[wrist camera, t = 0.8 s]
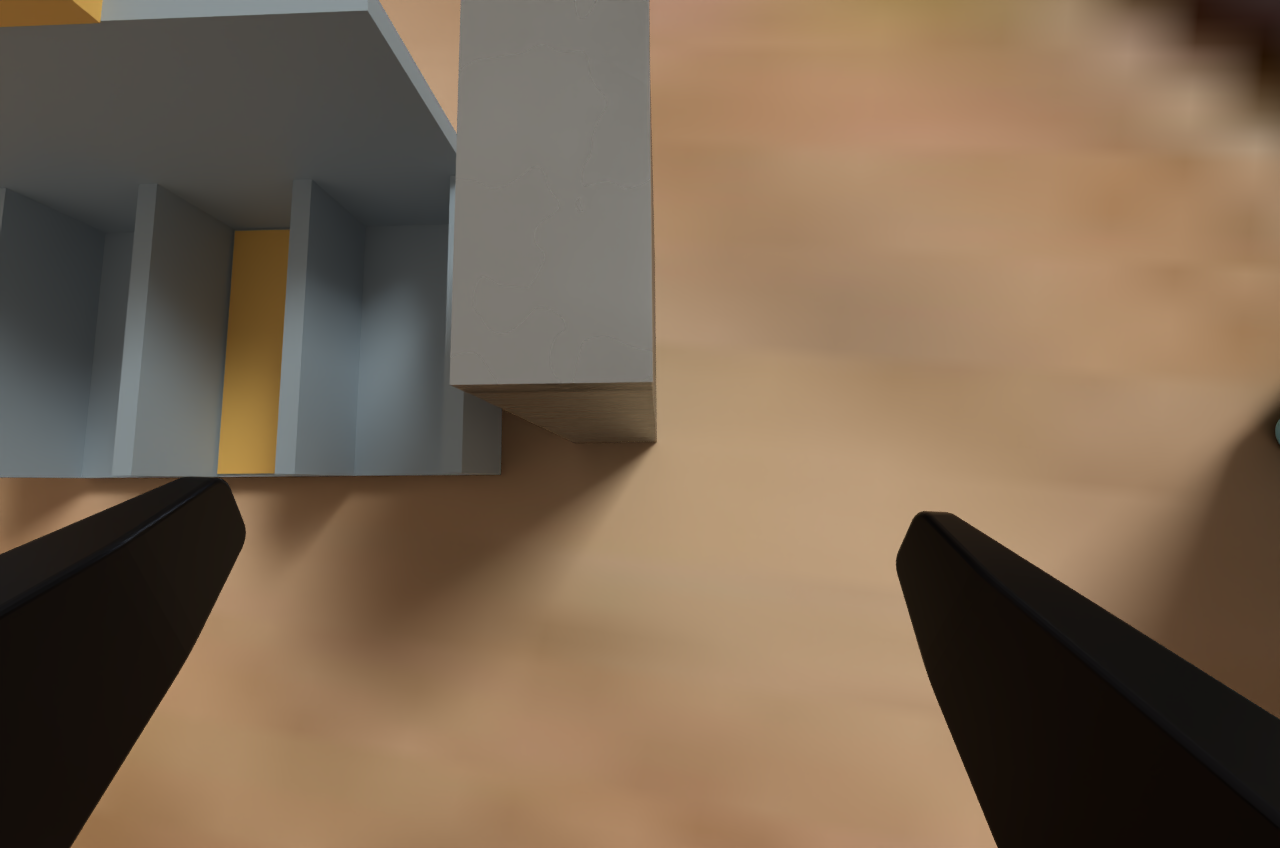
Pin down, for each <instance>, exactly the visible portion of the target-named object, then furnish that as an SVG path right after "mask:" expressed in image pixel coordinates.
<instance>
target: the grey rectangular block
mask: <svg viewBox="0 0 1280 848" xmlns="http://www.w3.org/2000/svg"><path fill="white" fill-rule="evenodd" d="M450 385H451V386H453V387H455V388H457V389H459V390H462V391H464V392H466V393H469V394H471V395H474V396H476V397H478V398H480V399H482V400H484V401H486V402H488V403H491V404H493V405H495V406H497V407H499V408H501V409H503V410H505V411H508V412H510V413H512V414H514V415H516V416H518V417H520V418H522V419H525V420H527V421H529V422H531V423H533V424H535V425H537V426H539V427H542V428H544V429H546V430H548V431H550V432H552V433H554V434H556V435H559V436H561V437H563V438H565V439H567V440H569V441H571V442H573V443H621V442H657V424H656V333H655V250H654V210H653V170H652V130H651V90H650V14H649V0H461V12H460V46H459V80H458V114H457V148H456V182H455V216H454V250H453V284H452V318H451V352H450Z"/></svg>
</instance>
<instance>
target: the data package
mask: <svg viewBox="0 0 1280 848" xmlns="http://www.w3.org/2000/svg"><path fill="white" fill-rule="evenodd" d="M1275 435H1276V438H1277V441H1278V443H1279V444H1280V419H1279V421H1278V422H1277V424H1276V428H1275Z"/></svg>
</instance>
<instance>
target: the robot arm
mask: <svg viewBox="0 0 1280 848" xmlns="http://www.w3.org/2000/svg"><path fill="white" fill-rule="evenodd" d="M245 536H246V530H245V524H244V522H243V519H242V517H241V514H240V511H239V509H238V506H237V504H236V501H235V499H234V496H233V494H232V491H231V489H230V487H229V485H228V484H227V483H226V482H225V481H224V480H223V479H220V478H216V477H197V476H188V477H182V478H180V479H177V480H175V481H172V482H170V483H168V484H165V485H163V486H161V487H158V488H156V489H153V490H151V491H149V492H146V493H144V494H142V495H139V496H137V497H135V498H132V499H130V500H127V501H125V502H123V503H120V504H118V505H116V506H113V507H111V508H109V509H106V510H104V511H102V512H99V513H97V514H94V515H92V516H90V517H87V518H85V519H83V520H80V521H78V522H76V523H73V524H71V525H68V526H66V527H64V528H61V529H59V530H57V531H54V532H52V533H50V534H47V535H45V536H42V537H40V538H38V539H35V540H33V541H31V542H28V543H26V544H24V545H21V546H19V547H17V548H14V549H12V550H9V551H7V552H5V553H2V554H0V848H70V847H71V846H72V844H73V843H74V841H75V839H76V838H77V836H78V835H79V833H80V831H81V830H82V828H83V826H84V825H85V823H86V822H87V820H88V818H89V817H90V815H91V814H92V812H93V810H94V809H95V807H96V805H97V804H98V802H99V801H100V799H101V797H102V796H103V794H104V793H105V791H106V789H107V788H108V786H109V785H110V783H111V781H112V780H113V778H114V776H115V775H116V773H117V772H118V770H119V768H120V767H121V765H122V764H123V762H124V760H125V759H126V757H127V755H128V754H129V752H130V751H131V749H132V747H133V746H134V744H135V743H136V741H137V739H138V738H139V736H140V735H141V733H142V731H143V730H144V728H145V726H146V725H147V723H148V722H149V720H150V718H151V717H152V715H153V714H154V712H155V710H156V709H157V707H158V705H159V704H160V702H161V701H162V699H163V697H164V696H165V694H166V693H167V691H168V689H169V688H170V686H171V685H172V683H173V681H174V680H175V678H176V676H177V675H178V673H179V671H180V670H181V668H182V666H183V665H184V663H185V661H186V659H187V658H188V656H189V654H190V652H191V650H192V648H193V646H194V645H195V643H196V641H197V639H198V637H199V635H200V633H201V631H202V629H203V627H204V625H205V623H206V621H207V619H208V617H209V615H210V613H211V611H212V608H213V606H214V604H215V602H216V600H217V598H218V596H219V594H220V592H221V590H222V588H223V586H224V584H225V582H226V580H227V578H228V576H229V574H230V572H231V570H232V568H233V566H234V564H235V561H236V559H237V557H238V555H239V553H240V551H241V549H242V547H243V544H244V541H245ZM896 570H897V574H898V578H899V581H900V585H901V588H902V591H903V595H904V598H905V601H906V605H907V608H908V612H909V615H910V618H911V622H912V625H913V629H914V632H915V635H916V639H917V642H918V646H919V649H920V652H921V656H922V659H923V662H924V665H925V668H926V671H927V674H928V677H929V680H930V683H931V685H932V688H933V691H934V693H935V696H936V698H937V701H938V703H939V706H940V708H941V710H942V713H943V715H944V718H945V720H946V723H947V725H948V728H949V730H950V732H951V735H952V737H953V740H954V742H955V745H956V747H957V750H958V752H959V754H960V757H961V759H962V762H963V764H964V767H965V769H966V772H967V774H968V776H969V779H970V781H971V784H972V786H973V789H974V791H975V794H976V796H977V798H978V801H979V803H980V806H981V808H982V811H983V813H984V816H985V818H986V820H987V823H988V825H989V828H990V830H991V833H992V835H993V838H994V840H995V842H996V845H997V847H998V848H1280V719H1278V718H1277V717H1275V716H1273V715H1272V714H1270V713H1269V712H1267V711H1265V710H1264V709H1262V708H1261V707H1259V706H1257V705H1256V704H1254V703H1253V702H1251V701H1249V700H1248V699H1246V698H1245V697H1243V696H1242V695H1240V694H1238V693H1237V692H1235V691H1234V690H1232V689H1230V688H1229V687H1227V686H1226V685H1224V684H1222V683H1221V682H1219V681H1218V680H1216V679H1214V678H1213V677H1211V676H1210V675H1208V674H1207V673H1205V672H1203V671H1202V670H1200V669H1199V668H1197V667H1195V666H1194V665H1192V664H1191V663H1189V662H1187V661H1186V660H1184V659H1183V658H1181V657H1179V656H1178V655H1176V654H1175V653H1173V652H1172V651H1170V650H1168V649H1167V648H1165V647H1164V646H1162V645H1160V644H1159V643H1157V642H1156V641H1154V640H1152V639H1151V638H1149V637H1148V636H1146V635H1144V634H1143V633H1141V632H1140V631H1138V630H1137V629H1135V628H1133V627H1132V626H1130V625H1129V624H1127V623H1125V622H1124V621H1122V620H1121V619H1119V618H1117V617H1116V616H1114V615H1113V614H1111V613H1110V612H1108V611H1106V610H1105V609H1103V608H1102V607H1100V606H1098V605H1097V604H1095V603H1094V602H1092V601H1090V600H1089V599H1087V598H1086V597H1084V596H1083V595H1081V594H1079V593H1078V592H1076V591H1075V590H1073V589H1071V588H1070V587H1068V586H1067V585H1065V584H1063V583H1062V582H1060V581H1059V580H1057V579H1056V578H1054V577H1052V576H1051V575H1049V574H1048V573H1046V572H1044V571H1043V570H1041V569H1040V568H1038V567H1036V566H1035V565H1033V564H1032V563H1030V562H1029V561H1027V560H1025V559H1024V558H1022V557H1021V556H1019V555H1017V554H1016V553H1014V552H1013V551H1011V550H1009V549H1008V548H1006V547H1005V546H1003V545H1002V544H1000V543H998V542H997V541H995V540H994V539H992V538H990V537H989V536H987V535H986V534H984V533H982V532H981V531H979V530H978V529H976V528H974V527H973V526H971V525H970V524H968V523H967V522H965V521H963V520H962V519H960V518H959V517H957V516H955V515H954V514H951V513H948V512H932V511H923V512H919V513H918V514H917V515H916V516H914V518H913V520H912V522H911V524H910V527H909V529H908V531H907V533H906V535H905V538H904V540H903V542H902V544H901V547H900V549H899V551H898V554H897V558H896Z"/></svg>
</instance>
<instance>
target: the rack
mask: <svg viewBox="0 0 1280 848" xmlns="http://www.w3.org/2000/svg"><path fill="white" fill-rule="evenodd" d="M456 148H457V134H456V132H455V130H454V128H453V127H452V125H451V123H450V122H449V120H448V118H447V116H446V115H445V113H444V111H443V110H442V108H441V106H440V104H439V103H438V101H437V99H436V98H435V96H434V94H433V92H432V91H431V89H430V87H429V86H428V84H427V82H426V80H425V79H424V77H423V75H422V74H421V72H420V70H419V68H418V67H417V65H416V63H415V62H414V60H413V58H412V56H411V55H410V53H409V51H408V50H407V48H406V46H405V44H404V43H403V41H402V39H401V38H400V36H399V34H398V33H397V31H396V29H395V27H394V26H393V24H392V22H391V21H390V19H389V17H388V15H387V14H386V12H385V10H384V9H383V7H382V5H381V3H380V2H379V0H0V477H8V478H169V477H188V476H197V477H287V476H405V475H501V440H502V409H501V408H499V407H497V406H495V405H493V404H491V403H488V402H486V401H484V400H482V399H480V398H478V397H476V396H474V395H471V394H469V393H466V392H464V391H462V390H459V389H457V388H455V387H453V386H451V385H450V352H451V318H452V284H453V250H454V216H455V182H456Z"/></svg>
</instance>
